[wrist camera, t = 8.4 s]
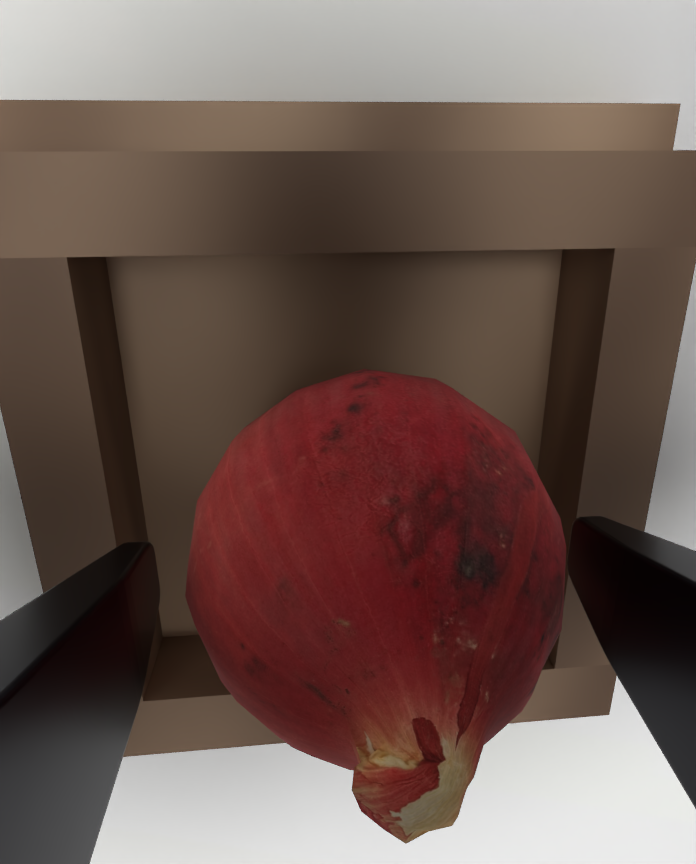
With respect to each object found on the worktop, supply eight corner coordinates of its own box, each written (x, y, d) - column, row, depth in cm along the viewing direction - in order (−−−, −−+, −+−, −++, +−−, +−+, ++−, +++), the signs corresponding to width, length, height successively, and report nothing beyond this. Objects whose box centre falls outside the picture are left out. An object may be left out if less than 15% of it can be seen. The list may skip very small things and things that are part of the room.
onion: (309, 270, 11) (368, 415, 4) (526, 416, 13) (854, 708, 6) (166, 498, 13) (14, 916, 5) (378, 602, 14) (482, 1025, 7)
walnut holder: (649, 113, 12) (759, 80, 9) (567, 656, 17) (622, 744, 14) (-10, 110, 11) (-115, 72, 8) (106, 692, 16) (66, 795, 13)
